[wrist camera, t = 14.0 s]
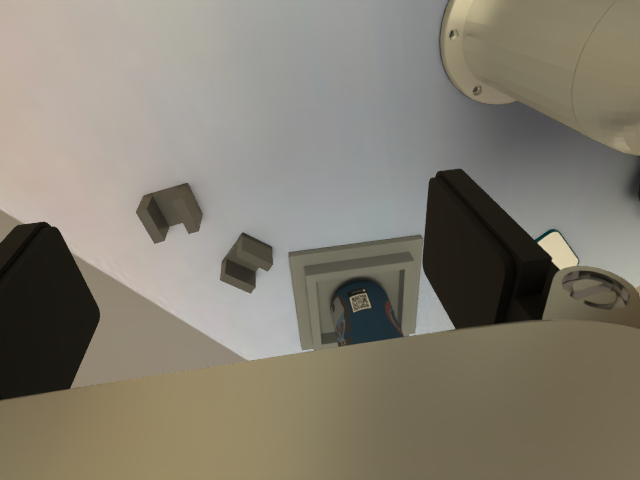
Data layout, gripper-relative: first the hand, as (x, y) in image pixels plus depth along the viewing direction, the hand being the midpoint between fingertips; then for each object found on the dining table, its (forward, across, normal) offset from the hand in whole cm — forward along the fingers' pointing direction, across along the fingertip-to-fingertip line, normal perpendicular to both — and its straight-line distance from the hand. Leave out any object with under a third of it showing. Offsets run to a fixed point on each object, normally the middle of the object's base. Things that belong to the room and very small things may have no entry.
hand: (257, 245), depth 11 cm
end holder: (+28, -8, +28) cm, 41 cm away
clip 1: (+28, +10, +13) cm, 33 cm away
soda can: (+28, -8, +28) cm, 40 cm away
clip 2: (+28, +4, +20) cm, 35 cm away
